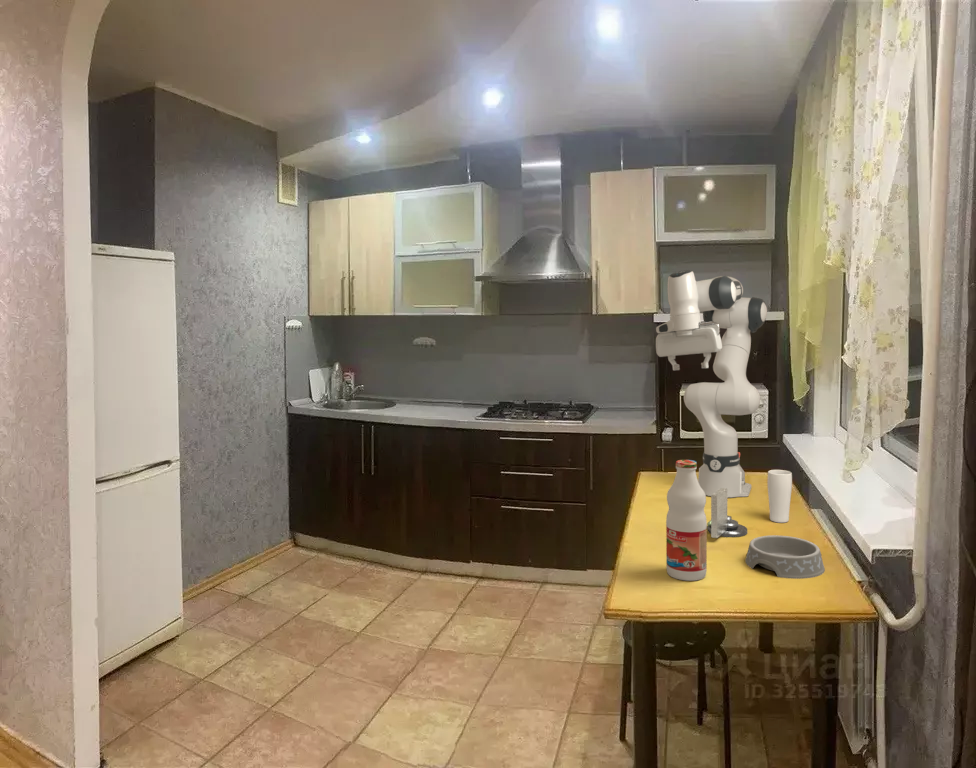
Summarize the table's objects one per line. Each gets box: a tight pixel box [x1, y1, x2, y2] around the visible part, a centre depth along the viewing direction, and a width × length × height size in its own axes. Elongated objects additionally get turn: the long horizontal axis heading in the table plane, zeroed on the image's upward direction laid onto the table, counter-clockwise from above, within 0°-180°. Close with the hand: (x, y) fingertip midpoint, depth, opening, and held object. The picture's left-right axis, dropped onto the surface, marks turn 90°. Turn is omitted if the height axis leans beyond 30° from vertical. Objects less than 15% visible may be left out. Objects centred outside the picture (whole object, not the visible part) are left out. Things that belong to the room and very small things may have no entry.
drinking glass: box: [767, 469, 793, 524], centre depth 203 cm, size 7×7×15 cm
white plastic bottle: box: [665, 459, 708, 582], centre depth 163 cm, size 9×9×28 cm
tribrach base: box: [707, 519, 748, 538], centre depth 196 cm, size 11×11×2 cm
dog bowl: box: [745, 534, 826, 580], centre depth 168 cm, size 17×18×5 cm
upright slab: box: [710, 488, 739, 539], centre depth 192 cm, size 14×6×12 cm, turn 143°
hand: (690, 369), depth 206 cm, fingers open, 8 cm apart
